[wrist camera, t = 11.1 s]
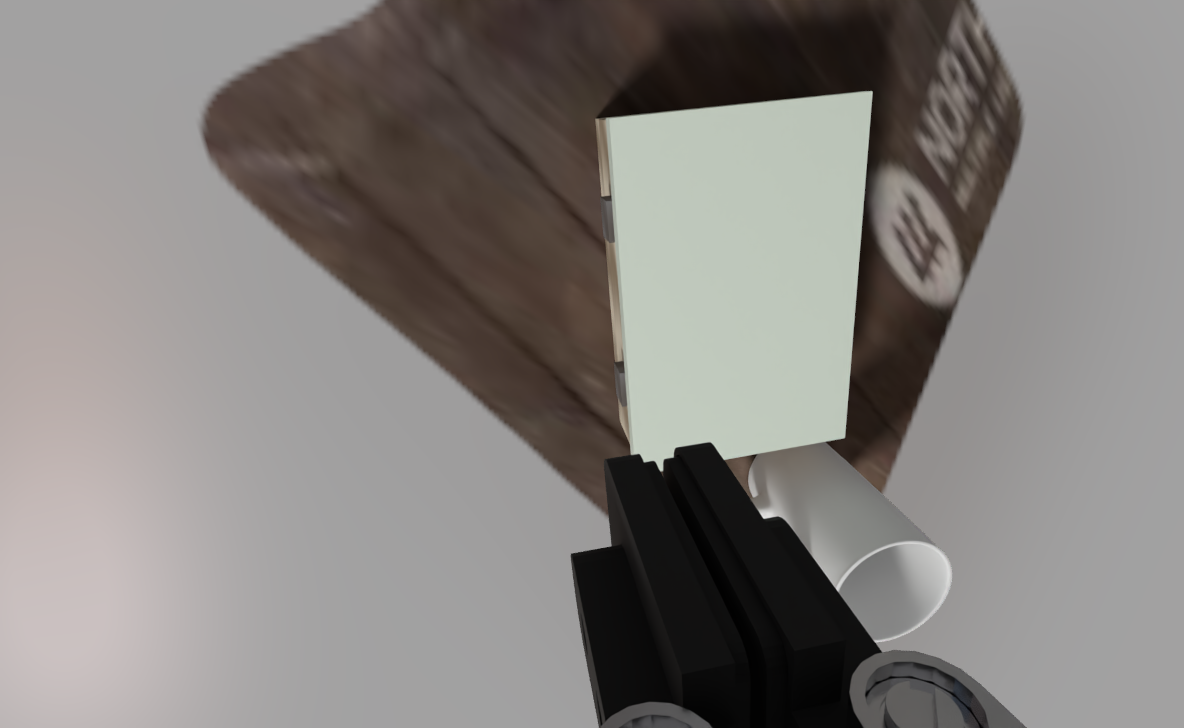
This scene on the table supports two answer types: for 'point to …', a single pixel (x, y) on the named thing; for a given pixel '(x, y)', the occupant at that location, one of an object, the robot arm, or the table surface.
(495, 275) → the table surface
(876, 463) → the table surface
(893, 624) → the mug
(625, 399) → the beige box
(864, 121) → the lid
